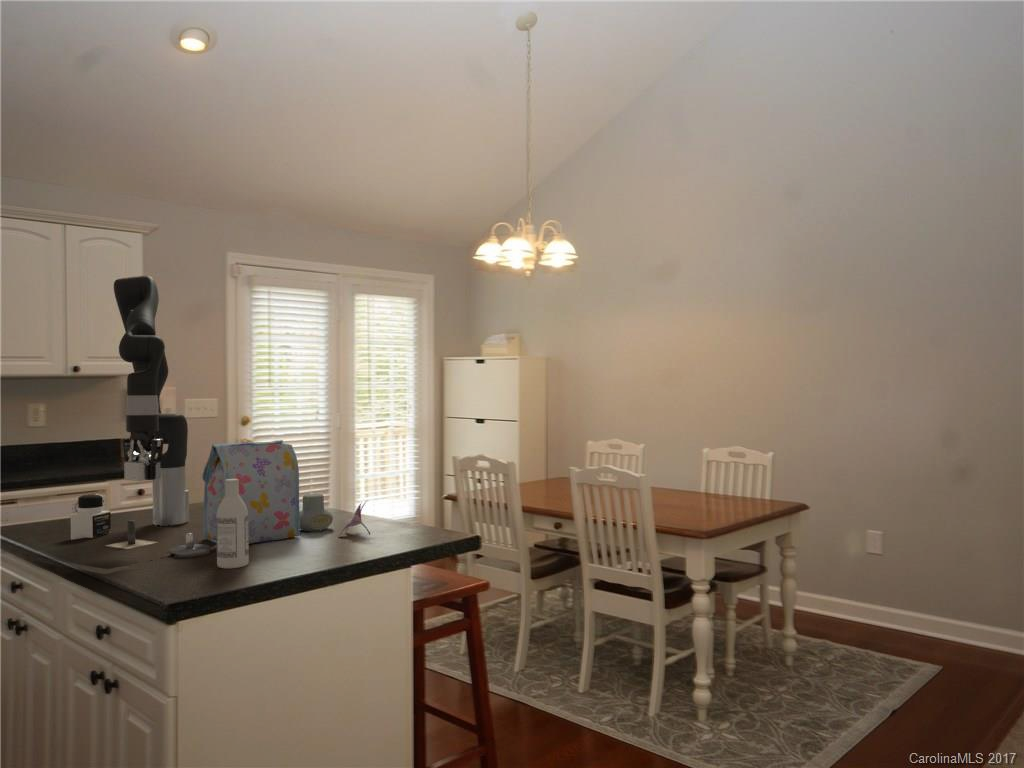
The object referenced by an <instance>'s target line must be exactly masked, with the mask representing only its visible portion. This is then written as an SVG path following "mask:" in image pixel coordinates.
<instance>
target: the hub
mask: <svg viewBox="0 0 1024 768" xmlns="http://www.w3.org/2000/svg"><path fill="white" fill-rule="evenodd" d="M194 537H195V536H194V533H193V532H187V533H185V544H182V545H178V546H174V547H171V548H170V550H169V551H170V553H171V554H169V555H170V556H169V557H171V558H176V559H187V558H189V557H190V558H197V557H202V556H205V555H208V554H209V553H210V545H209V544H204V543H203V544H202V543H195V542H194V539H195V538H194ZM194 543H195V544H194Z"/></svg>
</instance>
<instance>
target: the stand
mask: <svg viewBox="0 0 1024 768" xmlns="http://www.w3.org/2000/svg"><path fill="white" fill-rule="evenodd" d="M158 543H159V542H158V541H152V540H151V541H150V540H145V539H136V520H135V519H130V520H127V540H126V541H121V542H115V543H111V544H110V543H109V544H107V545H105V544H104V546H105V547H110V548H116V549H117V548H118V549H124V550H129V549H134V548H139V547H143V546H149V545H153V544H158Z"/></svg>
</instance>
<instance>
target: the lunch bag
mask: <svg viewBox="0 0 1024 768" xmlns="http://www.w3.org/2000/svg"><path fill="white" fill-rule="evenodd" d="M201 476H202V481H203V482H204V488H203V491H204V493H203V494H204V495H203V540H204V541H205V540H208V541H211V542H213V543H216V544H217V525H216V517H217V510H218V507H219V505H220V503H221V502H222V500H223V499H224V497H225V495H226V494H225V480H227V479H238V480H239V496H240V497H241V499H242V500H243V502H244V503H245V505H246V507H247V511H248V540H249V544H256V543H263V542H271V541H278V540H285V539H290V538H294V537H300V534H301V533H300V531H301V529H300V511H301V510H300V508H301V507H300V469H299V461H298V457H297V456H296V452H295V450H294V447H293V445H292V444H289V443H284V440H283V439H281V440H280V439H279V440H278V439H276V440H273V441H256V442H255V441H248V442H227V443H217V444H215V443H212V444H211V449H210V452H209V456H208V458H207V461H206V463H205V466H204V468H203V472H202V475H201Z"/></svg>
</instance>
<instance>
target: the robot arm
mask: <svg viewBox="0 0 1024 768" xmlns="http://www.w3.org/2000/svg"><path fill="white" fill-rule="evenodd" d="M113 292H114V298H115V301H116V304H117V307H118V311H119V315H120V317H121V321H122V323H123V327H124V330H125V333H124V334H123V336H122V337H121V340H120V342H119V345H118V354H119V356H120V359H122V360H123V361H125V362H127V363H131V365H132V368H133V372H131V373H129V374H128V375H127V379H126V393H127V394H126V405H125V430H126V432H127V433H130V436H129V437H125V438H122V442H121V443H122V452H123V453H122V454H123V462H133V461H141V458H144V461H145V462H146V480H145V481H152V525H153V524H154V526H157V525H160V527H161V526H162V527H163V526H165V527H166V526H167V527H168V525H169V526H176V525H182V524H185V523H188V522H190V512H189V511H190V508H189V507H190V506H189V504H190V499H189V498H190V496H189V495H190V494H189V493H190V492H189V490H186V489H187V488H186V487H187V486H186V485H187V482H186V480H187V479H186V460H187V455H188V438H189V437H188V436H189V433H188V432H189V429H188V428H189V427H188V426H189V425H188V422H187V419H186V417H185V416H184V415H183V414H181V413H162V411H161V404H160V403H161V402H160V398H161V397H160V396H161V393H162V390H163V388H164V387H165V383H166V382H167V379H168V377H169V365H168V360H167V356H166V352H165V350H166V348H165V347H166V346H165V341H164V340H163V338H162V337H160V336H158V335H156V334H157V331H156V320H155V319H156V315H157V312H158V307H159V300H160V299H159V298H160V297H159V290H158V287H157V283H156V280H155V279H154V278H153V277H152V276H149V275H140V276H138V275H137V276H131V277H122V278H118V279H116V280H114V282H113ZM164 445H167V450H166V451H165V452H164ZM163 452H164V453H163ZM159 462H160V479H155V478H156V464H157V463H159Z"/></svg>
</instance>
